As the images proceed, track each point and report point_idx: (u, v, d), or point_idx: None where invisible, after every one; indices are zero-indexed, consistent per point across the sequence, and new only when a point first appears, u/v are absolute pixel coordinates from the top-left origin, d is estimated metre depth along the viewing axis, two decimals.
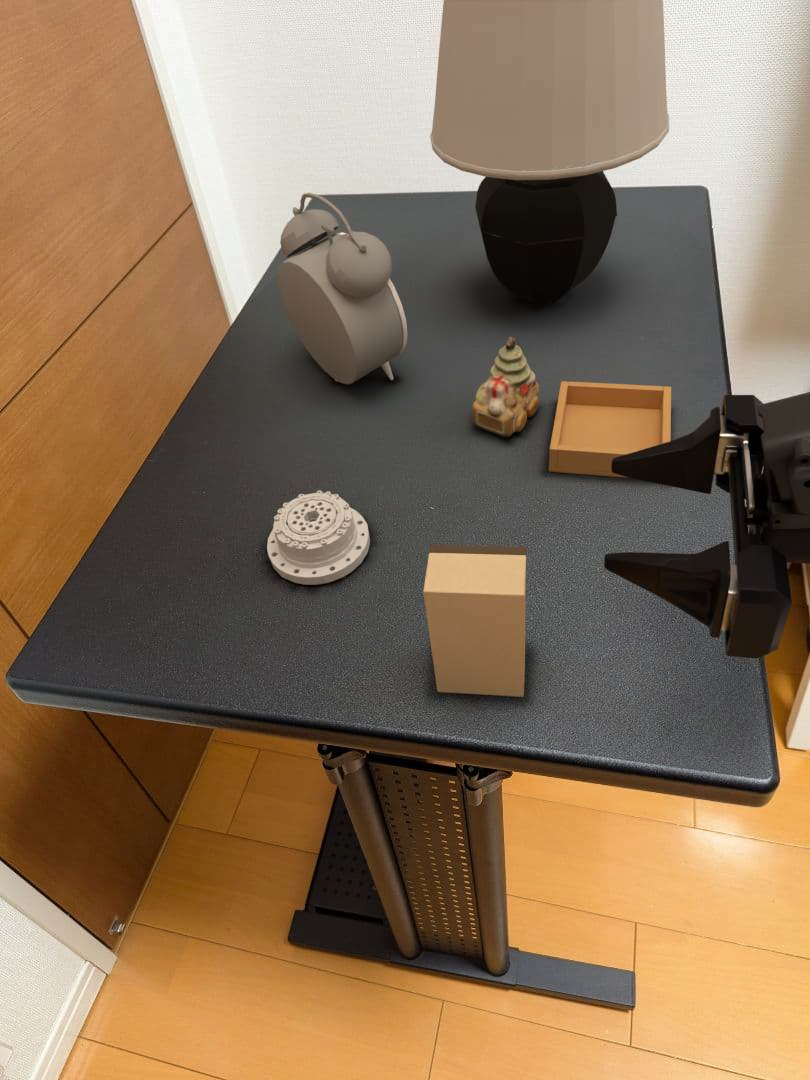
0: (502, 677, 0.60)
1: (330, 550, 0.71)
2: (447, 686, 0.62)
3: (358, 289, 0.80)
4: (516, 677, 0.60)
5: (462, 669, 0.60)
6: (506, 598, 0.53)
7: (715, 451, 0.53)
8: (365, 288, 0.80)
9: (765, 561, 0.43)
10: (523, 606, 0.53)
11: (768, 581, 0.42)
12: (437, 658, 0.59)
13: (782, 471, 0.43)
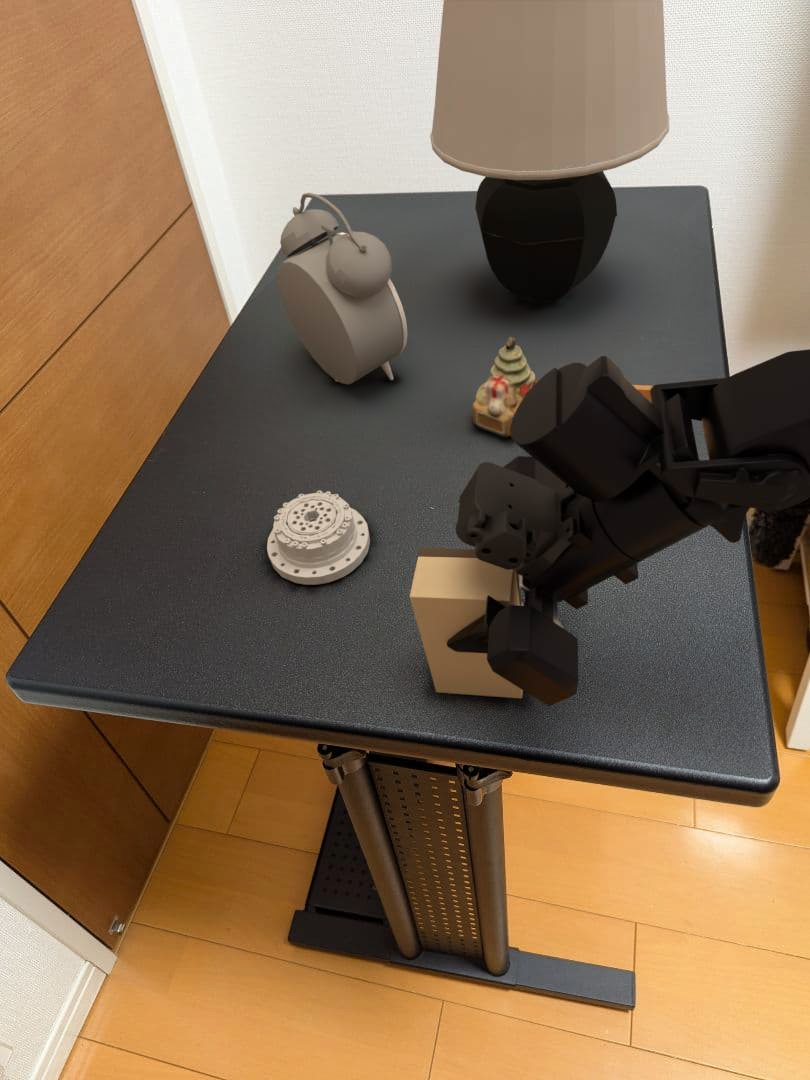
0: (498, 679, 0.60)
1: (330, 550, 0.71)
2: (445, 686, 0.62)
3: (358, 289, 0.80)
4: None
5: (457, 671, 0.60)
6: None
7: None
8: (365, 288, 0.80)
9: (505, 623, 0.48)
10: None
11: (504, 642, 0.47)
12: (432, 660, 0.59)
13: None
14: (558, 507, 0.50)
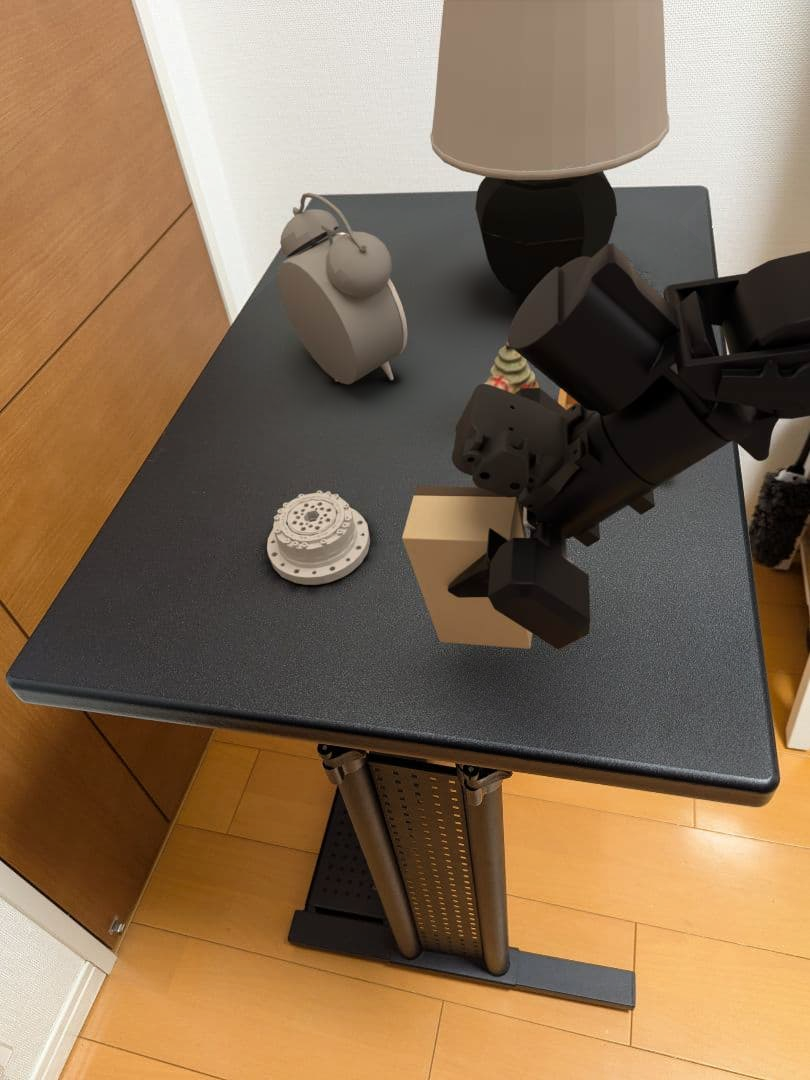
0: (503, 628, 0.56)
1: (330, 550, 0.71)
2: (448, 636, 0.58)
3: (358, 289, 0.80)
4: (518, 629, 0.55)
5: (460, 619, 0.56)
6: None
7: None
8: (365, 288, 0.80)
9: (507, 557, 0.43)
10: None
11: (506, 576, 0.42)
12: (432, 607, 0.55)
13: None
14: (564, 431, 0.45)
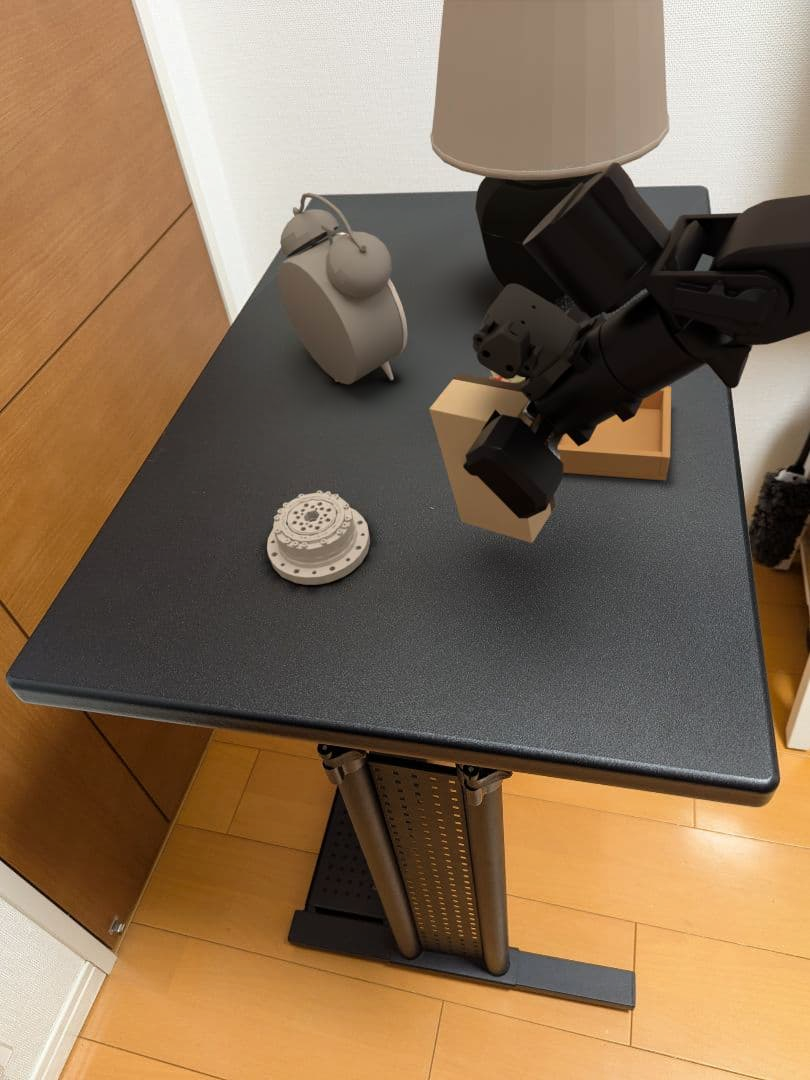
0: (510, 516, 0.63)
1: (330, 550, 0.71)
2: (467, 517, 0.66)
3: (358, 289, 0.80)
4: (522, 519, 0.62)
5: (475, 500, 0.64)
6: None
7: None
8: (365, 288, 0.80)
9: (491, 427, 0.51)
10: None
11: (482, 441, 0.50)
12: (453, 484, 0.64)
13: None
14: (574, 336, 0.51)
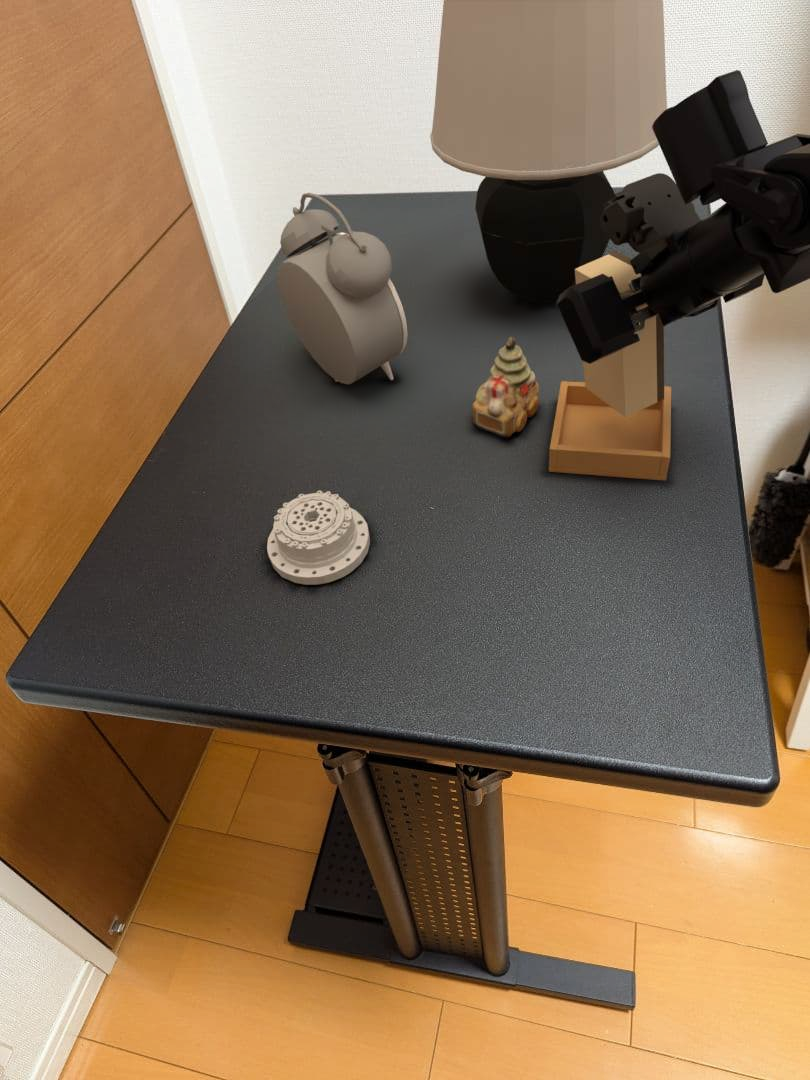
0: (613, 386, 0.74)
1: (330, 550, 0.71)
2: (589, 382, 0.78)
3: (358, 289, 0.80)
4: (620, 391, 0.73)
5: (594, 366, 0.75)
6: None
7: None
8: (365, 288, 0.80)
9: None
10: None
11: (573, 286, 0.62)
12: None
13: None
14: (688, 227, 0.60)
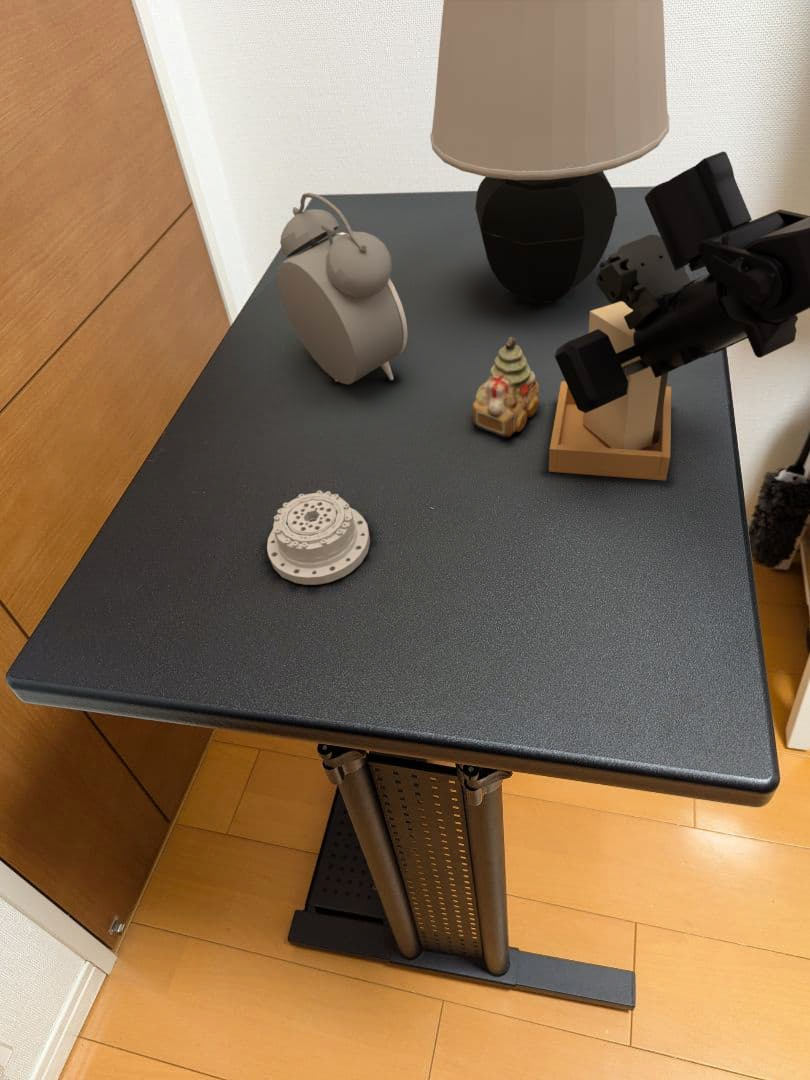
0: (614, 426, 0.77)
1: (330, 550, 0.71)
2: (587, 420, 0.82)
3: (358, 289, 0.80)
4: (620, 431, 0.76)
5: None
6: (625, 337, 0.70)
7: None
8: (365, 288, 0.80)
9: (584, 335, 0.66)
10: None
11: (570, 341, 0.66)
12: None
13: None
14: (679, 287, 0.64)
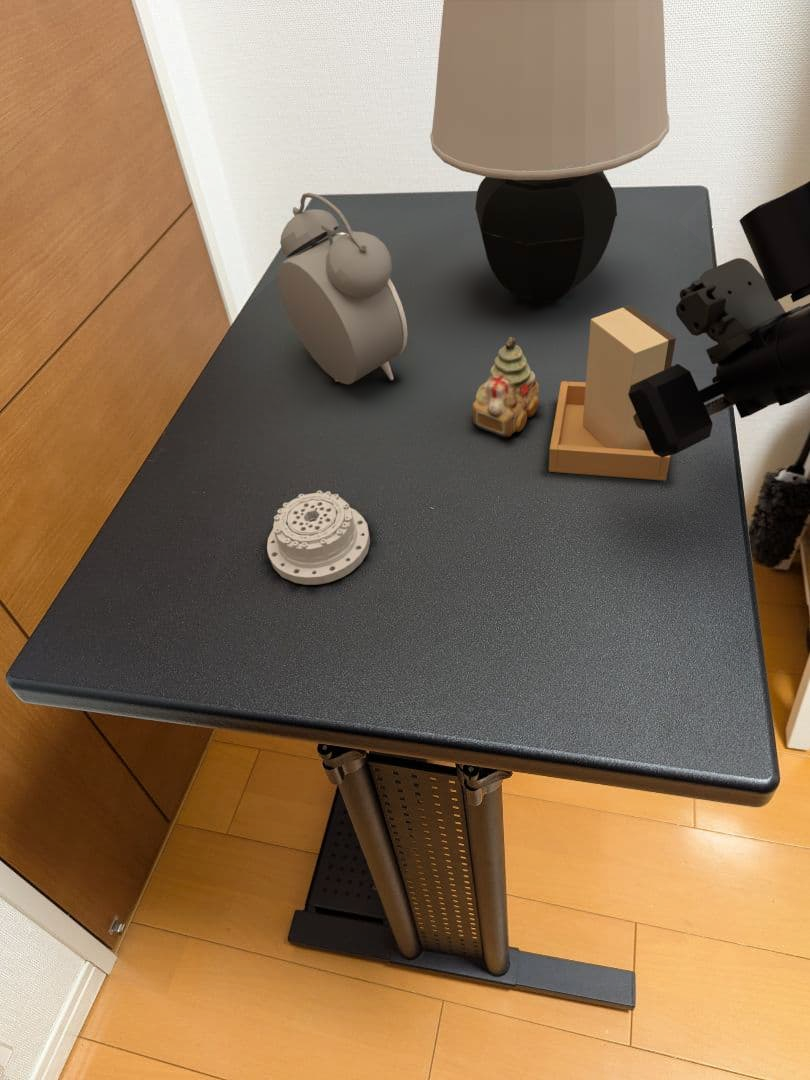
0: (613, 432, 0.78)
1: (330, 550, 0.71)
2: (587, 422, 0.82)
3: (358, 289, 0.80)
4: (620, 438, 0.77)
5: (596, 410, 0.79)
6: (626, 350, 0.70)
7: None
8: (365, 288, 0.80)
9: None
10: (633, 364, 0.70)
11: None
12: (587, 390, 0.79)
13: None
14: (772, 318, 0.57)
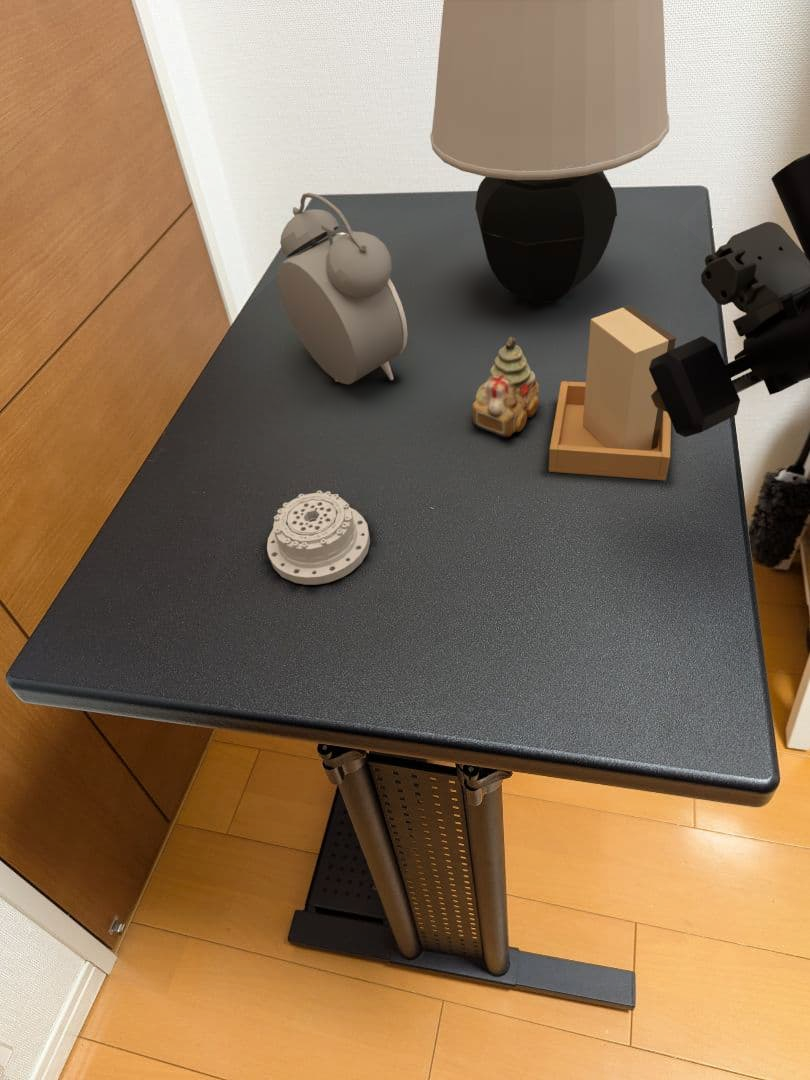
0: (613, 432, 0.78)
1: (330, 550, 0.71)
2: (587, 422, 0.82)
3: (358, 289, 0.80)
4: (620, 438, 0.77)
5: (596, 410, 0.79)
6: (626, 350, 0.70)
7: None
8: (365, 288, 0.80)
9: None
10: (633, 364, 0.70)
11: (670, 350, 0.55)
12: (587, 390, 0.79)
13: None
14: (805, 286, 0.53)
